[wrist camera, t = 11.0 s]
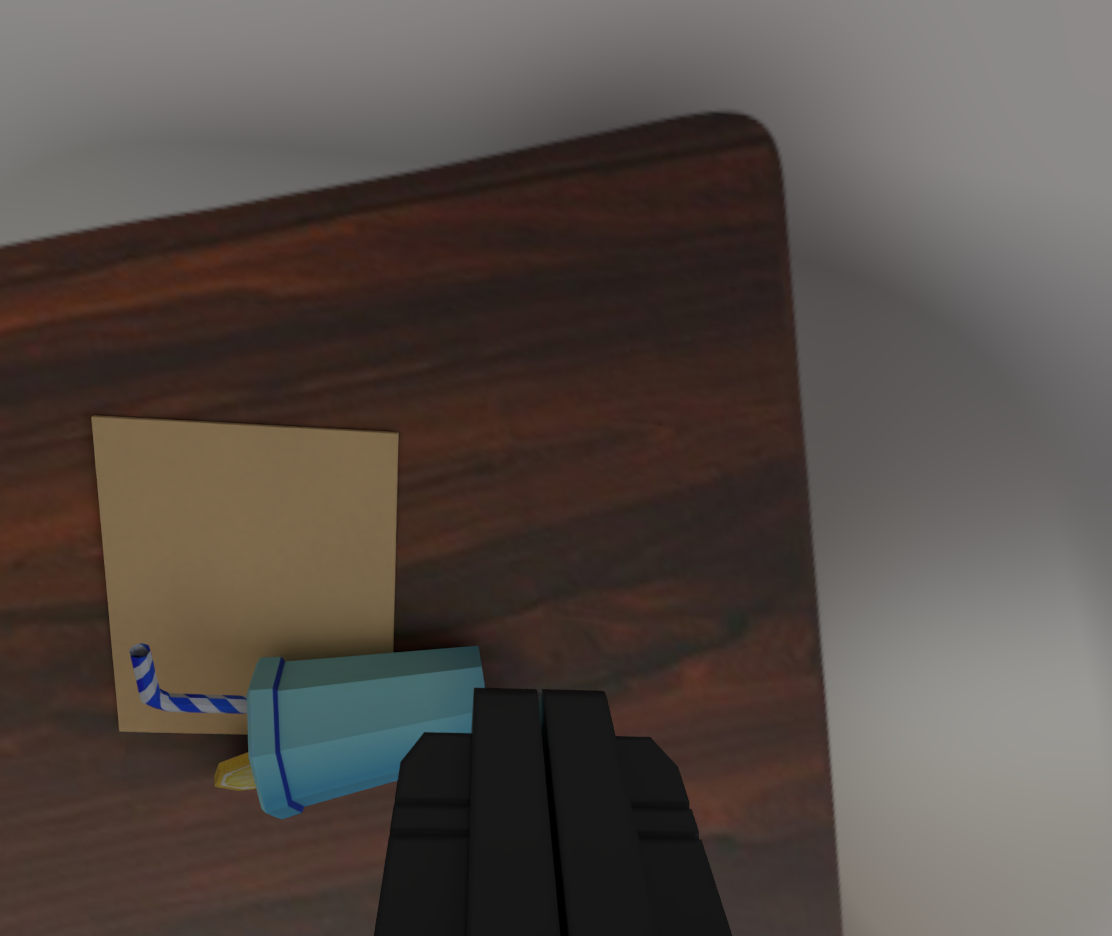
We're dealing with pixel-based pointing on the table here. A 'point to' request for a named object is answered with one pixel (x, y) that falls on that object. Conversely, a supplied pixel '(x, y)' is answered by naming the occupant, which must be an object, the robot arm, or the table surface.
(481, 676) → the cup
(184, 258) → the table surface
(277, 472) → the cork mat
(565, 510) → the table surface
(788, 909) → the table surface
